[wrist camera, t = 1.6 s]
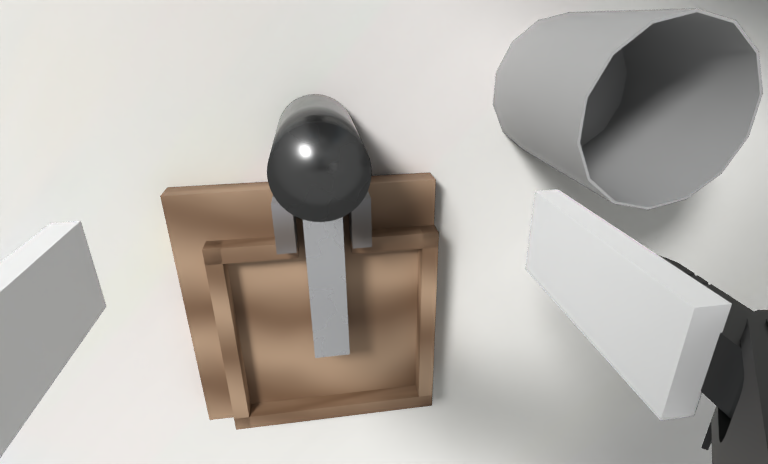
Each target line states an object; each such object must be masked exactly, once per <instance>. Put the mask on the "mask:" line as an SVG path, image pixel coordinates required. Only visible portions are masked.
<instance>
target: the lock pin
mask: <svg viewBox="0 0 768 464" xmlns="http://www.w3.org/2000/svg"><path fill="white" fill-rule="evenodd" d="M371 172H372V171H371V163H370V159H369V156H368V154H367V151H366V149H365V147H364V145H363V143H362V140H361V138H360V136H359V134H358V132H357V129H356V127H355V125H354V123H353V121H352V119H351V117H350V115H349V113H348V111H347V110H346V109H345V108H344V107H343V105H341V104H340V103H339V102H338V101H336V100H335V99H333V98H330V97H328V96H325V95H319V94H311V95H306V96H302V97H300V98H298V99H296V100H294V101H293V102H291V103H290V104H289V105H288V106H287V107H286V108H285V110H284V111H283V113H282V115H281V117H280V120H279V123H278V127H277V130H276V134H275V138H274V142H273V145H272V149H271V153H270V157H269V161H268V166H267V178H268V183H269V187H270V190H271V192H272V194H273V196H274V197H275V199H276V200H277V202H278V203H279V204H280V205H281V206H282V207H283V208H284V209H285V210H286V211H287V212H289V213H290V214H292V215H294V216H296V217H298V218H300V219H303V230H304V241H305V252H306V263H307V274H308V285H309V296H310V307H311V318H312V330H313V341H314V352H315V358H320V357H330V356H339V355H349V354H350V349H349V330H348V310H347V291H346V272H345V252H344V233H343V217H344V216H346V215H348V214H349V213H350V212H352V211H353V210H354V209H355V208H357V207H358V206H359V204H360V203H361V202H362V201H363V199H364V198H365V196H366V194H367V192H368V189H369V186H370V182H371Z"/></svg>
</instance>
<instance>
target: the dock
mask: <svg viewBox="0 0 768 464" xmlns="http://www.w3.org/2000/svg"><path fill="white" fill-rule="evenodd" d="M435 183H436V180H435V178H434V177H433V176H432V175H431V173H415V174H397V175H380V176H371V182H370V186H369V189H368V192H367V194H366V196H365V198H364V199H363V201H362V202H361V203H360V204H359V206H358V207H357V208H355V209H354V210H353V211H352V212H350V213H349V214H348V215H346V216H344V217H343V233H344V252H345V272H346V291H347V310H348V330H349V349H350V354H349V355H339V356H330V357H320V358H315V352H314V341H313V330H312V318H311V307H310V296H309V285H308V274H307V263H306V252H305V241H304V230H303V219H300V218H298V217H296V216H294V215H292V214H290V213H289V212H287V211H286V210H285V209H284V208H283V207H282V206H281V205H280V204H279V203H278V202H277V200H276V199H275V197H274V196H273V194H272V192H271V190H270V187H269V183H268V182H256V183H239V184H221V185H203V186H186V187H168V188H167V189H166V190H165V191H164V192H163V194H162V195H161V196H160V197H161V201H162V206H163V210H164V215H165V219H166V224H167V228H168V233H169V237H170V242H171V246H172V251H173V256H174V260H175V265H176V269H177V274H178V278H179V283H180V287H181V292H182V296H183V301H184V305H185V310H186V315H187V319H188V324H189V328H190V333H191V337H192V342H193V346H194V351H195V355H196V360H197V364H198V369H199V374H200V378H201V383H202V387H203V392H204V396H205V401H206V405H207V410H208V414H209V419H210V420H213V419H222V418H230V417H234V420H235V426H236V430H237V429H245V428H253V427H261V426H269V425H277V424H285V423H293V422H302V421H310V420H318V419H326V418H334V417H342V416H350V415H358V414H366V413H375V412H383V411H391V410H399V409H407V408H415V407H423V406H431V405H432V390H433V365H434V340H435V315H436V290H437V265H438V240H439V232H438V230H437V229H436V227H435V226H434V212H435Z"/></svg>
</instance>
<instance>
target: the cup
mask: <svg viewBox="0 0 768 464" xmlns="http://www.w3.org/2000/svg"><path fill="white" fill-rule="evenodd" d="M762 94H763V90H762V79H761V69H760V58H759V51H758V49H757V48H756V47H755V45H754V44H753V43H752V41H751V40H750V38H749V37H748V36H747V34H746V33H745V32H744V30H743V29H742V28H741V26H740V25H739V24H738V22H737V21H736V20H734V19H730V18H727V17H724V16H721V15H717V14H714V13H711V12H707V11H704V10H701V9H664V10H629V11H594V12H568V13H564V14H560V15H556V16H552V17H549V18H545V19H541V20H538V21H537V22H536V23H534V24H533V25H532V26H531V27H530V28H528V29H527V30H526V31H525V32H524V33H522V34H521V35H520V36H519V37H517V38H516V39H515V40H514V41H513V42H512V43H511V45H510V47H509V49H508V51H507V53H506V54H505V56H504V58H503V60H502V62H501V64H500V66H499V68H498V70H497V72H496V77H495V88H494V99H493V106H494V109H495V112H496V114H497V117H498V120H499V123H500V125H501V128H502V131H503V132H504V133H505V134H506V135H507V136H508V137H509V138H510V139H512V140H513V141H514V142H515V143H516V144H517V145H518V146H520V147H521V148H522V149H523V150H525V151H527V152H528V153H530V154H532V155H533V156H535V157H537V158H538V159H540V160H542V161H543V162H545V163H547V164H548V165H550V166H552V167H553V168H555V169H557V170H558V171H560V172H562V173H563V174H565V175H567V176H568V177H570V178H572V179H573V180H575V181H577V182H578V183H580V184H582V185H583V186H585V187H587V188H588V189H590V190H592V191H593V192H595V193H597V194H598V195H600V196H602V197H603V198H605V199H607V200H608V201H610V202H612V203H614V204H619V205H625V206H630V207H635V208H641V209H646V210H649V209H653V208H656V207H660V206H664V205H667V204H671V203H674V202H678V201H682V200H685V199H687V198H688V197H690V196H691V195H693V194H694V193H695V192H697V191H698V190H700V189H701V188H702V187H704V186H705V185H706V184H708V183H709V182H711V181H712V180H713V179H715V178H716V177H718V176H719V175H720V174H722V172H723V171H724V170H725V168H726V167H727V166H728V164H729V163H730V161H731V160H732V159H733V157H734V156H735V155H736V153H737V152H738V151H739V149H740V148H741V146H742V145H743V144H744V142H745V141H746V140H747V138H748V137H749V135H750V131H751V128H752V125H753V122H754V119H755V116H756V113H757V110H758V106H759V103H760V100H761V97H762Z"/></svg>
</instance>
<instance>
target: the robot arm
mask: <svg viewBox="0 0 768 464" xmlns="http://www.w3.org/2000/svg"><path fill="white" fill-rule="evenodd" d="M525 269H526V271H527V272H528V273H529V274H530V275H531V276H532V277H533V278H534V280H535V281H536V282H537V283H538V284H539V285H540V286H541V287H542V288H543V290H544V291H545V292H546V293H547V294H548V295H549V296H550V297H551V299H552V300H553V301H554V302H555V303H556V304H557V305H558V306H559V307H560V309H561V310H562V311H563V312H564V313H565V314H566V315H567V316H568V318H569V319H570V320H571V321H572V322H573V323H574V324H575V325H576V327H577V328H578V329H579V330H580V331H581V332H582V333H583V334H584V335H585V337H586V338H587V339H588V340H589V341H590V342H591V343H592V344H593V346H594V347H595V348H596V349H597V350H598V351H599V352H600V353H601V354H602V356H603V357H604V358H605V359H606V360H607V361H608V362H609V363H610V365H611V366H612V367H613V368H614V369H615V370H616V371H617V372H618V373H619V375H620V376H621V377H622V378H623V379H624V380H625V381H626V382H627V384H628V385H629V386H630V387H631V388H632V389H633V390H634V391H635V393H636V394H637V395H638V396H639V397H640V398H641V399H642V400H643V401H644V403H645V404H646V405H647V406H648V407H649V408H650V409H651V410H652V412H653V413H654V414H655V415H656V416H657V417H658V418H659V419H660V420H661V421H662V420H669V419H676V418H684V417H691V416H694V415H695V412H696V409H697V406H698V403H699V400H700V397H701V394H702V393H703V394H705V395H706V396H707V397H708V398H709V399H710V400H711V401H712V402H713V403H714V404H715V405H716V409H715V412H714V414H713V417H712V420H711V423H710V425H709V428H708V431H707V434H706V437H705V439H704V442H703V445H702V448H703V449H706V450H708V449H709V446H710V444H711V443H712V464H768V310H757V311H755V312H754V311H752V310H750V309H749V308H747V307H746V306H744V305H743V304H741V303H740V302H738V301H736V300H735V299H733V298H732V297H730V296H729V295H727V294H726V293H724V292H723V291H721V290H719V289H718V288H716V287H715V286H713V285H712V284H711V285H708V282H707V281H705V280H704V279H702V278H701V277H699V276H698V275H697V276H695V275H694V273H693V272H691V271H690V270H688V269H687V268H685V267H684V266H682V265H681V264H679V263H677V262H675V261H672V260H670V259H667V258H665V257H662V256H660V255H657V254H655V253H654V252H652V251H651V250H649V249H648V248H646V247H645V246H643V245H642V244H640V243H639V242H637V241H636V240H634V239H633V238H631V237H630V236H628V235H627V234H625V233H624V232H622V231H621V230H619V229H618V228H616V227H614V226H613V225H611V224H610V223H608V222H607V221H605V220H604V219H602V218H601V217H599V216H598V215H596V214H595V213H593V212H592V211H590V210H589V209H587V208H586V207H584V206H583V205H581V204H580V203H578V202H577V201H575V200H573V199H572V198H570V197H569V196H567V195H566V194H564V193H563V192H561V191H560V190H558V189H556V190H541V191H535V194H534V202H533V210H532V218H531V226H530V234H529V243H528V251H527V259H526V267H525ZM105 308H106V304H105V300H104V297H103V294H102V290H101V287H100V284H99V280H98V277H97V274H96V270H95V267H94V264H93V260H92V257H91V253H90V250H89V247H88V243H87V240H86V237H85V233H84V230H83V227H82V223H81V221H71V222H56V223H50V224H48V225H47V226H46V227H45V228H43V229H42V230H41V231H39V232H38V233H37V234H36V235H34V236H33V237H32V238H31V239H29V240H28V241H27V242H25V243H24V244H23V245H22V246H20V247H19V248H18V249H17V250H15V251H14V252H13V253H11V254H10V255H9V256H8V257H6V258H5V259H4V260H3V261H1V262H0V458H1V456H2V455H3V453H4V452H5V450H6V449H7V448H8V446H9V445H10V443H11V442H12V440H13V439H14V438H15V436H16V435H17V433H18V432H19V430H20V429H21V428H22V426H23V425H24V423H25V422H26V420H27V419H28V418H29V416H30V415H31V413H32V412H33V410H34V409H35V408H36V406H37V405H38V403H39V402H40V400H41V399H42V398H43V396H44V395H45V393H46V392H47V390H48V389H49V388H50V386H51V385H52V383H53V382H54V380H55V379H56V378H57V376H58V375H59V373H60V372H61V370H62V369H63V368H64V366H65V365H66V363H67V362H68V360H69V359H70V358H71V356H72V355H73V353H74V352H75V350H76V349H77V348H78V346H79V345H80V343H81V342H82V341H83V339H84V338H85V336H86V335H87V333H88V332H89V331H90V329H91V328H92V326H93V325H94V323H95V322H96V321H97V319H98V318H99V316H100V315H101V313H102V312H103V311H104V309H105Z"/></svg>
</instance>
